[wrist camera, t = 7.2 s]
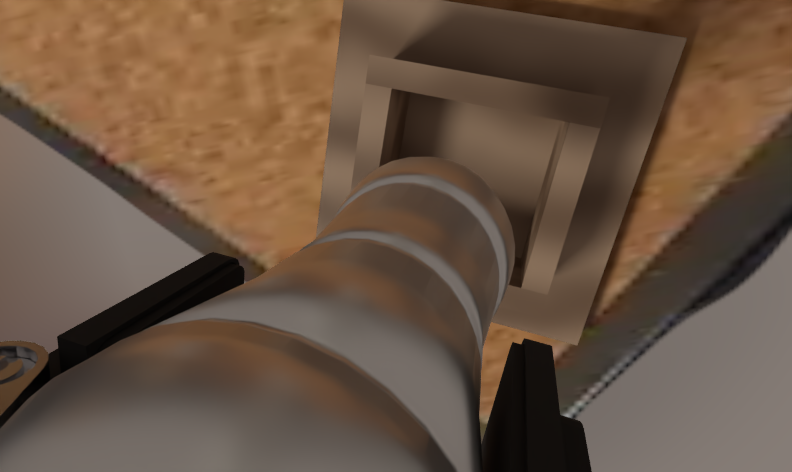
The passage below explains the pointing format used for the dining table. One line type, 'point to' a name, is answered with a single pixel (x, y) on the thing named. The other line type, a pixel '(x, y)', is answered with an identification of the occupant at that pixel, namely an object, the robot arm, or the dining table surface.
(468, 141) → the bottle stand
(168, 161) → the dining table surface
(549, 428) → the robot arm
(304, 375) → the plastic bottle
